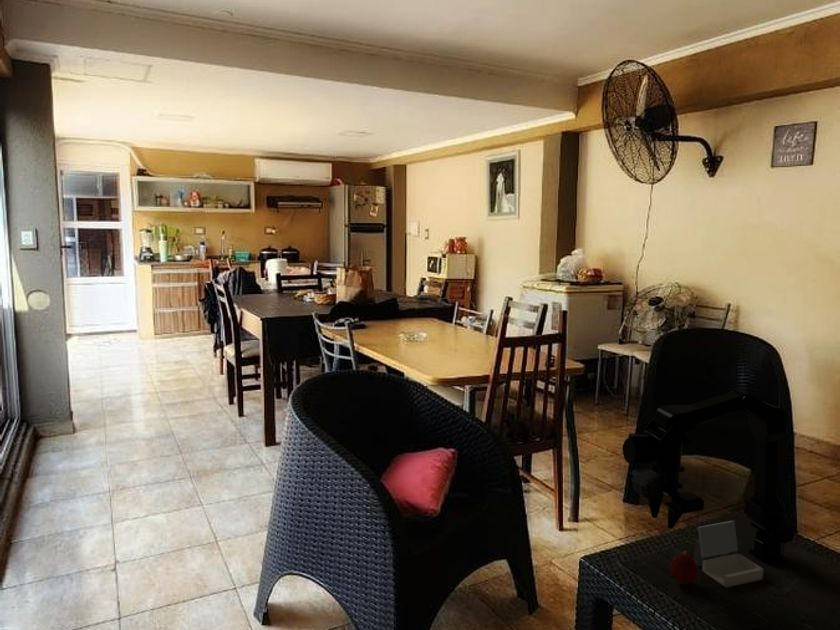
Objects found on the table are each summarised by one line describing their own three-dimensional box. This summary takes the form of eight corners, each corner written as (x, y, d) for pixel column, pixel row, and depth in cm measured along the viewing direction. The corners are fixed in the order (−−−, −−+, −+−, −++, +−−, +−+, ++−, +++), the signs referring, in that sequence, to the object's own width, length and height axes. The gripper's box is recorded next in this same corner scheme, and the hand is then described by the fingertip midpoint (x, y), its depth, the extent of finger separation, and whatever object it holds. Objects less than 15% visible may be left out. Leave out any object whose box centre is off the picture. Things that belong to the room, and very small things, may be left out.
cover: (737, 550, 148) (733, 549, 149) (734, 521, 149) (729, 520, 150) (703, 557, 145) (699, 556, 146) (700, 527, 145) (696, 526, 147)
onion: (699, 593, 136) (702, 560, 135) (672, 589, 137) (674, 556, 136) (693, 578, 142) (696, 546, 140) (667, 575, 143) (669, 543, 141)
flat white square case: (726, 556, 152) (729, 533, 151) (762, 579, 142) (765, 555, 141) (691, 563, 148) (693, 540, 147) (726, 587, 138) (728, 563, 137)
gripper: (614, 450, 149) (609, 510, 151) (668, 480, 131) (662, 548, 134) (651, 445, 152) (646, 504, 155) (708, 474, 135) (702, 540, 137)
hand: (662, 522), depth 145 cm, fingers open, 5 cm apart
